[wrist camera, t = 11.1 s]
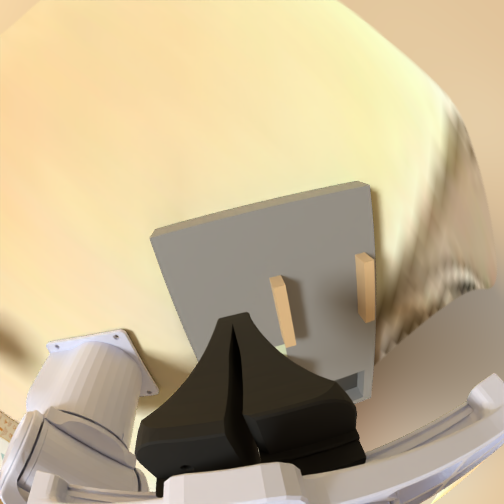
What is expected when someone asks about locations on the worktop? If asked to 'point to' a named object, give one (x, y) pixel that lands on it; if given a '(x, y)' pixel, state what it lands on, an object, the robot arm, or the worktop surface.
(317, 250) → the board
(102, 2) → the worktop surface
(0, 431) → the cereal box
